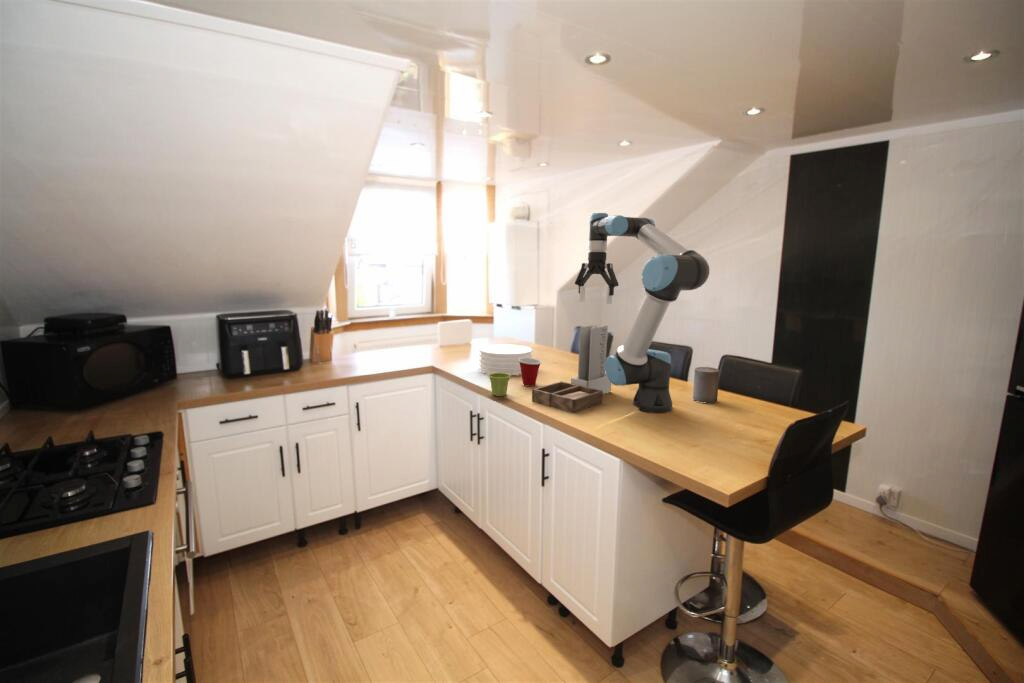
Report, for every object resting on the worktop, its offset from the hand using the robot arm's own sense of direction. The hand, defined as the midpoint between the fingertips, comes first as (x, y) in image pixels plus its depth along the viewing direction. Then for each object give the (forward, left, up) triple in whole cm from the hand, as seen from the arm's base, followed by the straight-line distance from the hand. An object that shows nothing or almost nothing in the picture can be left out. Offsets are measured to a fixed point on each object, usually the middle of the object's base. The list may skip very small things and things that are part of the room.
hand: (595, 302), depth 195 cm
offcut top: (-6, +20, -38) cm, 43 cm away
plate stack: (+59, -6, -41) cm, 72 cm away
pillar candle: (-39, -27, -40) cm, 62 cm away
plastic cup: (+29, +8, -40) cm, 51 cm away
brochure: (0, 0, -40) cm, 41 cm away
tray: (-2, +20, -40) cm, 45 cm away
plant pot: (+27, +30, -40) cm, 57 cm away
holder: (0, 0, -40) cm, 40 cm away
